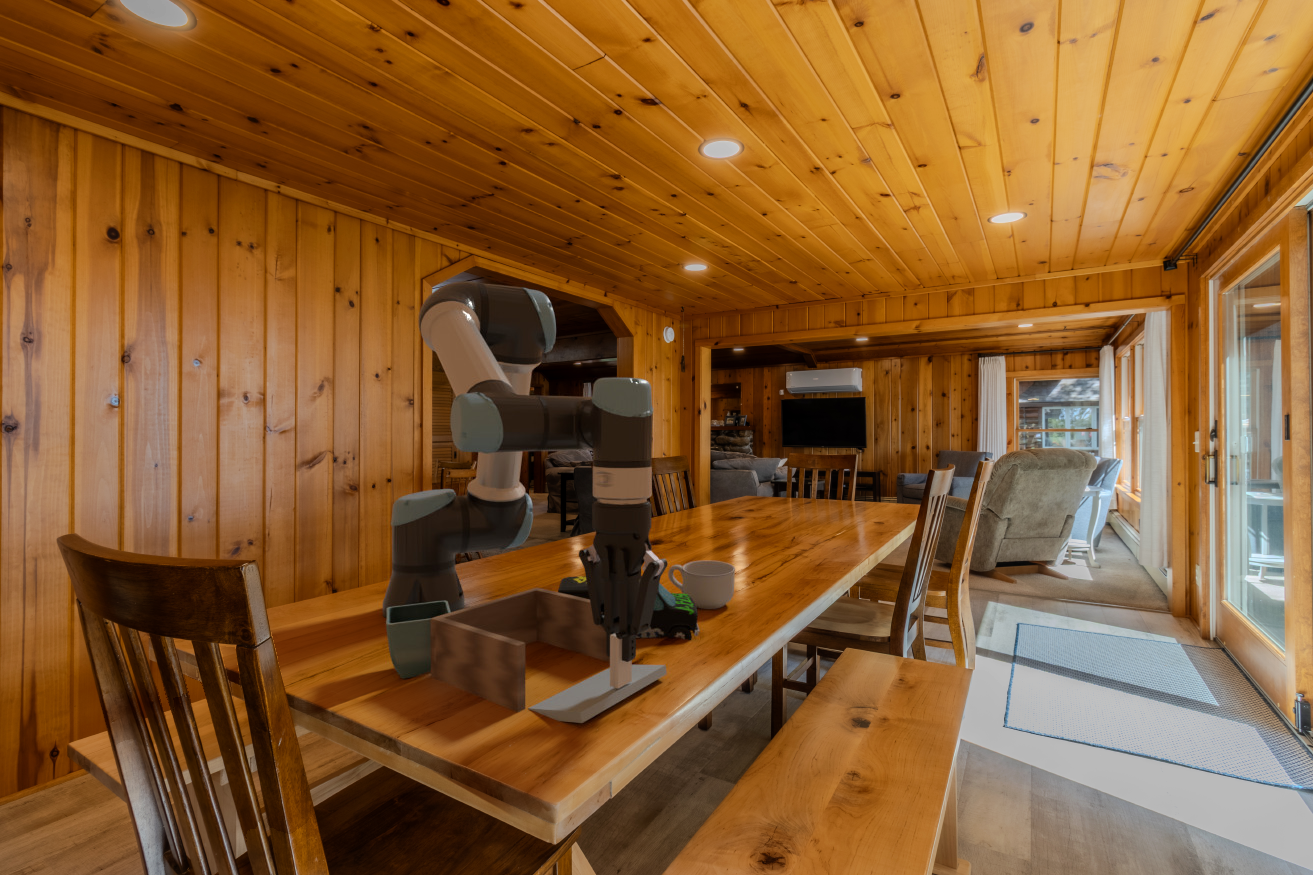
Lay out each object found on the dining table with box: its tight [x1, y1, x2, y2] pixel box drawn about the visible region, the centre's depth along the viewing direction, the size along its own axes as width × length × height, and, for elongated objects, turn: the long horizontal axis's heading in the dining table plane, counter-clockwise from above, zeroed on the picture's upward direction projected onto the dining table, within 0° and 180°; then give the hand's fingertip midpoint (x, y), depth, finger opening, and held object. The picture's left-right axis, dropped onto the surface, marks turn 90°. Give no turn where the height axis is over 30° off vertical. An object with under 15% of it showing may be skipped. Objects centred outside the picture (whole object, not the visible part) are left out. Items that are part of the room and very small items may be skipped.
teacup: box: [667, 559, 736, 610], centre depth 125 cm, size 14×11×8 cm
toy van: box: [557, 575, 700, 642], centre depth 105 cm, size 11×25×10 cm, turn 94°
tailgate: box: [527, 664, 667, 724], centre depth 80 cm, size 1×17×9 cm
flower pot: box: [385, 601, 451, 679], centre depth 90 cm, size 9×9×9 cm
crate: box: [430, 587, 610, 713], centre depth 88 cm, size 18×20×10 cm
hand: (620, 683), depth 78 cm, fingers closed
